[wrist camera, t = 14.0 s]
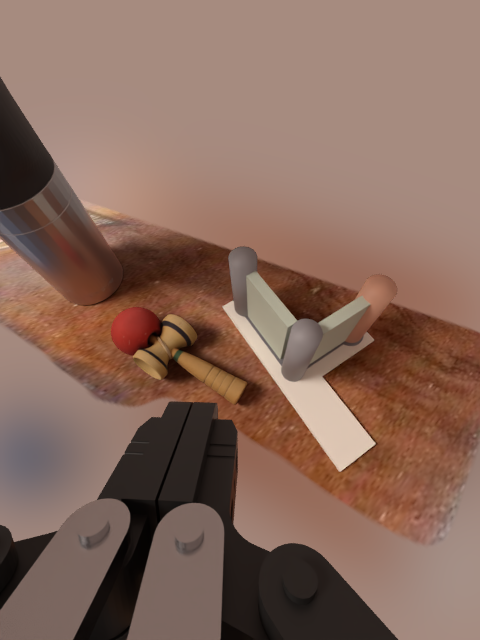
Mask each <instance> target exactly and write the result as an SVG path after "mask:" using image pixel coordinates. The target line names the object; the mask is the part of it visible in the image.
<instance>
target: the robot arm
mask: <svg viewBox="0 0 480 640" xmlns="http://www.w3.org/2000/svg"><path fill="white" fill-rule="evenodd" d="M0 239H2V240H3V241H4V242H5V243H6V244H7V245H8V246H9V247H10V248H11V249H13V250H14V251H15V252H16V253H17V254H18V255H19V256H20V257H21V258H22V259H23V260H25V261H26V262H27V263H28V264H29V265H30V266H31V267H32V268H33V269H34V270H35V271H37V272H38V273H39V274H40V275H41V276H42V277H43V278H44V279H45V280H46V281H48V282H49V283H50V284H51V285H52V286H53V287H54V288H55V289H56V290H57V291H58V292H59V293H61V294H62V295H63V296H64V297H65V298H66V299H67V300H69V301H70V302H72V303H74V304H78V305H91V304H96V303H98V302H101V301H103V300H105V299H106V298H108V297H109V296H111V295H112V294H113V293H114V292H115V291H116V290H117V288H118V287H119V285H120V283H121V281H122V278H123V268H122V266H121V264H120V262H119V260H118V259H117V257H116V256H115V254H114V253H113V251H112V250H111V248H110V246H109V245H108V243H107V242H106V240H105V239H104V237H103V235H102V234H101V232H100V231H99V229H98V228H97V226H96V225H95V223H94V222H93V220H92V219H91V217H90V215H89V214H88V212H87V211H86V209H85V208H84V206H83V205H82V203H81V202H80V200H79V199H78V197H77V195H76V194H75V193H74V191H73V189H72V188H71V186H70V185H69V183H68V182H67V180H66V179H65V177H64V176H63V174H62V173H61V171H60V170H59V168H58V166H57V165H56V163H55V162H54V160H53V159H52V157H51V156H50V154H49V153H48V151H47V150H46V148H45V147H44V145H43V143H42V142H41V140H40V139H39V137H38V136H37V134H36V133H35V131H34V130H33V128H32V127H31V125H30V124H29V122H28V120H27V119H26V118H25V116H24V114H23V113H22V111H21V109H20V108H19V106H18V105H17V103H16V102H15V100H14V99H13V97H12V96H11V94H10V92H9V91H8V89H7V87H6V86H5V84H4V82H3V81H2V79H1V77H0ZM237 450H238V449H237V430H236V428H235V425H234V423H233V421H232V420H220V419H218V406H217V403H204V402H194V403H193V402H169V403H168V405H167V407H166V409H165V411H164V413H163V415H162V417H161V418H160V417H159V418H158V417H157V418H156V417H151V418H150V419H149V420H148V421H146V422H145V423H144V424H143V425H142V426H140V427H139V428H138V430H137V432H136V434H135V435H134V437H133V439H132V440H131V443H130V444H129V445H128V447H127V449H126V451H125V454H124V455H123V456H122V458H121V459H120V461H119V463H118V464H117V466H116V468H115V470H114V471H113V473H112V475H111V476H110V478H109V480H108V482H107V483H106V485H105V487H104V489H103V490H102V493H101V494H100V495H99V497H98V499H97V500H96V501H93V502H90V503H88V504H86V505H84V506H83V507H81V508H79V509H78V510H76V511H75V512H74V513H73V514H72V515H70V517H69V518H68V519H67V520H66V521H65V522H64V523H63V525H62V526H61V527H60V529H59V530H58V531H55V532H52V533H49V534H45V535H41V536H37V537H33V538H29V539H25V540H21V541H17V542H14V541H13V538H12V535H11V532H10V531H9V529H7V528H6V527H5V526H2V525H0V640H398V639H397V638H396V637H395V636H394V634H392V633H391V631H390V630H389V629H388V628H387V627H386V626H385V625H384V623H383V622H382V621H381V620H380V619H379V618H378V617H377V616H376V614H374V612H373V611H372V610H371V609H370V608H369V607H368V606H367V604H366V603H365V602H364V601H363V600H362V599H361V598H360V597H359V595H358V594H357V593H356V592H355V591H354V590H353V589H352V588H351V587H350V585H349V584H348V583H347V582H346V581H345V580H344V579H343V578H342V577H341V575H340V574H339V573H338V572H337V571H336V570H335V569H334V568H333V567H332V565H331V564H330V563H329V562H328V561H327V560H326V559H325V558H324V557H323V556H322V555H321V554H320V553H318V552H317V551H315V550H314V549H312V548H310V547H308V546H305V545H302V544H295V543H290V544H284V545H281V546H279V547H277V548H275V549H274V550H272V551H271V552H269V551H267V550H265V549H262V548H260V547H258V546H256V545H254V544H251V543H250V542H248V541H247V540H245V539H244V538H243V537H242V536H241V535H240V534H239V533H238V532H237V530H236V529H235V527H234V525H233V520H234V508H235V497H236V484H237V473H238V456H237V453H238V451H237Z"/></svg>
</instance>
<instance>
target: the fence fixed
mask: <svg viewBox="0 0 480 640" xmlns="http://www.w3.org/2000/svg"><path fill="white" fill-rule="evenodd" d="M228 260H229V268H230V276H231V284H232V291H233V299H234V307H235V311H236V313H237V314H239V315H240V316H244V317H247V316H248V317H249V319H250V320H251V321H252V323H253V324H254V325H255V327H256V328H257V329H258V331H259V332H260V333H261V335H262V336H263V337H264V339H265V340H266V341H267V343H268V344H269V345H270V347H271V348H272V349H273V351H274V352H275V353H276V355H277V356H278V357H279V359H280V360H281V359H282V358H284V360H283V363H282V367H281V373H282V375H283V377H284V378H285V379H286V380H288V381H291V382H296V381H299V380H300V379H301V378H302V377H303V375H304V373H305V371H306V370H307V368H308V366H309V364H310V362H311V360H312V358H313V356H314V354H315V352H316V350H317V348H318V346H319V344H320V342H321V340H322V338H323V331H322V328H321V326H320V325H319V324H318V323H317V322H315V321H314V320H311V319H300V320H298V321H297V320H296V319H295V317H294V316H293V315H292V314H291V313H290V311H289V310H288V309H287V308H286V307H285V305H284V304H283V303H282V302H281V301H280V299H279V298H278V297H277V296H276V295H275V293H274V292H273V291H272V290H271V288H270V287H269V286H268V285H267V284H266V282H265V281H264V280H263V279H262V278H261V276H260V275H259V274H258V273H257V254H256V252H255V251H254V250H253V249H251V248H249V247H237V248H235V249H233V250H232V251H231V252H230V254H229V257H228Z"/></svg>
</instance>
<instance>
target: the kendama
mask: <svg viewBox="0 0 480 640" xmlns="http://www.w3.org/2000/svg"><path fill="white" fill-rule="evenodd" d="M111 336H112V340H113V342H114V344H115V345H116V346H117V348H118V349H120V350H121V351H122V352H124V353H126V354H129V355H134V356H133V360H134V361H135V363H136V364H137V365H138V366H139V367H140V368H141V369H142V370H143V371H145V372H146V373H147V374H149V375H150V376H152V377H154V378H156V379H158V380H162V379H163V378H164V377H165V376H166V375H167V373H168V371H167V366H168V361H169V360H170V359H174V360H175V361H176V362H177V363H178V364H180V365H181V366H182V367H183V368H184V369H186V370H187V371H188V372H189V373H191V374H192V375H193V376H195V377H196V378H197V379H199V380H200V381H201V382H203V383H205V384H206V385H207V386H209V387H210V388H212V389H213V390H214V391H216V392H218V394H220V395H221V396H223V397H224V398H225V399H227V400H228V401H229V402H231V403H232V404H233V405H236V404H237V402H238V400H239V399H240V397H241V395H242V394H243V392H244V390H245V388H246V386H247V382H245V381H243V380H241V379H239V378H237V377H236V378H235V376H233V375H231V374H228V373H227V372H225V371H223V370H221V369H219V368H218V367H214V365H212V364H210V363H208V362H206V361H204V360H202V359H200V358H198V357H196V356H193V355H191V354H189V353H186V352H184V351H181V350H179V349H180V348H182V347H187V346H192V344H193V343H194V342H195V340H196V339H197V334H196V332H195V330H194V329H193V328H192V326H191V325H190V324H189V323H188V322H186V321H185V320H184V319H182V318H181V317H179V316H176V315H173V314H169V315H167V316H166V317H165V318H164V319H163V320H162V323H160V320H159V319H158V317H157V316H156V315H155V314H154V313H153V312H151V311H150V310H148V309H145V308H141V307H132V308H128V309H126V310H124V311H122V312H121V313H120V314H118V316H117V317H116V318H115V320H114V321H113V324H112V327H111Z"/></svg>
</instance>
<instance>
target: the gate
mask: <svg viewBox="0 0 480 640" xmlns="http://www.w3.org/2000/svg"><path fill="white" fill-rule="evenodd" d="M396 294H397V286H396V284H395V282H394V281H393V280H392V279H391V278H389V277H387V276H384V275H379V274H378V275H372V276H370V277H369V278H368V279H367V280H366V281H365V283H364V285H363V287H362V288H361V290H360V292H359V293H358V295H357V297H356V299H355V300H354V301H352V302H351V303H349V304H347V305H346V306H344V307H343V308H341V309H340V310H338V311H336V312H335V313H333V314H332V315H330V316H328V317H327V318H325V319H324V320H322V321H320V322H319V323H318V324H319V325H320V326H321V328H322V331H323V338H322V340H321V342H320V344H319V346H318V348H317V350H316V352H315V354H314V356H313V358H312V360H311V362H310V364H311V363H312V362H314V361H315V360H317V359H318V358H320V357H321V356H323V355H324V354H326V353H327V352H329V351H330V350H332V349H334V348H335V347H337V346H338V345H340V344H341V343H343V342H344V341H346V342H348V343H355V342H358V341H359V340H360V339H361V338H362V337H363V335H364V334H365V333H366V332H367V330H368V329H369V328H370V327H371V325H372V324H373V323H374V322H375V320H376V319H377V318H378V317H379V316H380V314H381V313H382V312H383V311H384V309H385V308H386V307H387V306H388V304H389V303H390V302H391V301H392V299H393V298H394V297H395V295H396Z"/></svg>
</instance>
